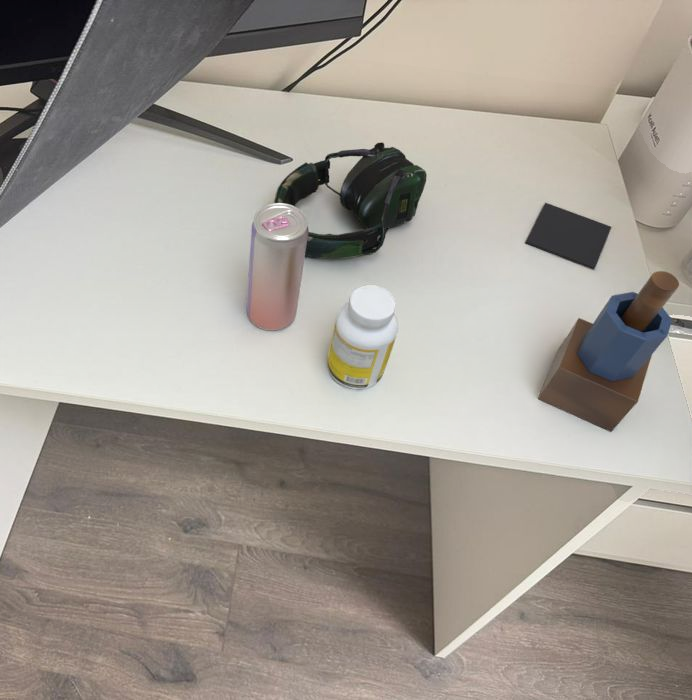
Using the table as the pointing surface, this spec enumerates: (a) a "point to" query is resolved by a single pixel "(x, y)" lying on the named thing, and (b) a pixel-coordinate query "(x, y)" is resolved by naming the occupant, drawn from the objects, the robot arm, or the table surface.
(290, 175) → the headphones
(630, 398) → the stand
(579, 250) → the pad
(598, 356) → the blue hollow octagonal tube
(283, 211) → the beverage can
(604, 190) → the table surface
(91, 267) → the table surface
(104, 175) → the table surface
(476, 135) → the table surface
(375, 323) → the pill bottle
